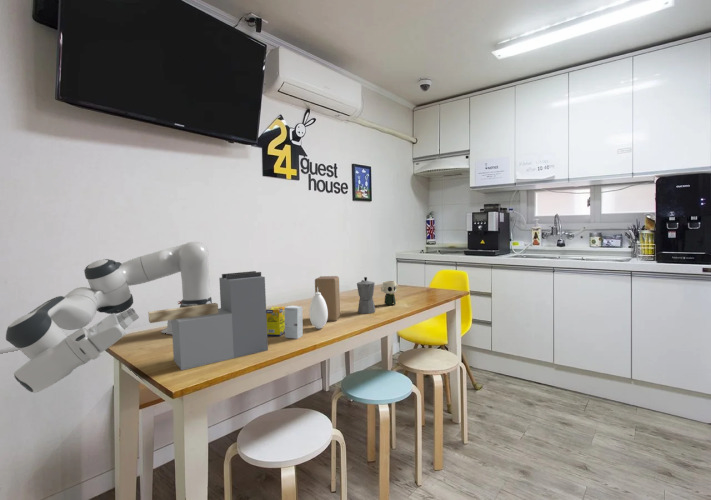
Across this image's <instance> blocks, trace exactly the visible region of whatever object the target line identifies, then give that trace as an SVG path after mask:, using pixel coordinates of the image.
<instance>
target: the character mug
mask: <svg viewBox="0 0 711 500" xmlns="http://www.w3.org/2000/svg"><path fill="white" fill-rule="evenodd" d="M398 289H399V285H398V283H397V282H396V281H395V280H385V281H384V280H383V282H382V285H381V286H380V291H381V292H383V293H384V294H385V295H384V304H385V305H387V306H391V305H396V297H395V294H396V293H397V291H398Z"/></svg>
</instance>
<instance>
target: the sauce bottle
mask: <svg viewBox="0 0 711 500" xmlns="http://www.w3.org/2000/svg"><path fill="white" fill-rule="evenodd" d="M310 302H311V303H310V304H309V305H310V306H309V311H308V312H309V320H310V323H311V325H312V326H313V327H314V328H316V329H317V330H320V329H322V328H324V326H325V325H326V324H327V322H328V321H327V318H328V310H327V305H326V302H325V300H324V298H323V297H322V295H321V293H319V292H318V287H317V293H315V292H314V295H313V297H312V299H311V301H310Z"/></svg>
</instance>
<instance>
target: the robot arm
mask: <svg viewBox="0 0 711 500" xmlns="http://www.w3.org/2000/svg"><path fill="white" fill-rule="evenodd" d="M83 271H84V276H85V279H86V280H87V282H88V285H89V287H87V286H86V287H85V286H81V287H77V288H74V289H73V290H71V291H69V292H68V293H67V294H66V295H65V296H63V295H58V296H55V297H53V298H51V299H49V300H47V301H45V302H43V303H42V304H40V305H39V306H37V307H36V308H35V309H33V310H32V311H30V312H28V313H27V314H24V315H22V316H21V317H19V318H17V319H16V320H14V321H13V322H12V323H10V325H8V327H7V329H6V332H5V340H6V341H7V343H9V344H11V345H12V346H14V348H17V349H18V350H19V351H21V352H22V353H23V354H24V355H25V356H26V358H28V359H29V360H28V361H27V362H26V363H25V364H23V365H22V366H20V367H19V368H18V369H16V371H14V373H13V375H14V379H15V380H16V381H17V382H18V383H19V384H20V385H21V386H22V387H24V388H25V390H27V391H28V392H30V393H35V394H36V393H40V392H41V391H44V390H45V389H47V388H49V387H51V386H53V385H55V384H56V383H58V382H59V381H61V380H63V379H64V378H66V377H67V376H69V375H70V374H71V373H73V371H74V370H75V369H77V368H78V367H80V366H83V365H85V364H87V363H89V362H90V361H91V360H94V361H95V360H96V359H97V358H99V357H100V356H102V353H103V352H104V351H106V350H107V349H109V348H110V347H112V346H113V345H114V344H115V343H117V342H119V340H120V339H122V338H123V337H124V336H125V335H126V333H127V332H126V329H127V328H129V326H131V325H132V324H133V323H134V322H135V321H137V320H138V319H140V317H139V315H138V313H137V312H136V310H135V309H134V308H133V307H132V306H133V305H134V296H133V294H132V293H131V290H130V287H129V286H136V285H141V284H146V283H148V282H149V283H150V282H152V281H156V280H158V279H162V278H165V277H169V276H172V275H175V274H179V273H180V276H181V290H182V291H181V292H182V300H178V302H177V305H179V308H181V307H188V306H196V305H203V304H211V303H213V301H212V300H213V299H212V297H211V280H210V269H209V249H208V248H207V246H206V245H205V244H204V243H203V242H200V241H190V242H186V243H184V244H180V245H176V246H172V247H170V248H166V249H162V250H158V251H155V252H152V253H147V254H144V255H141V256H137V257H135V258H132V259H129V260H127V261H125V262H123V263H122V262H119V261H115V260H113V259H109V258H106V259H105V258H104V259H98V260H95V261H92V262H90V264H88V265H86V267H85V268H84V270H83ZM97 312H98V313H105V314H107V315H108V316H105V317H104V318H103V319H101V320H100V321H98V322H97V323H95V324H94V325H93V326H91V327H89V328H88V329H87V328H85V327H86V326H88V325H89V324H90V323H91V322H92V320H93V319H94V318H95V316H96V313H97ZM166 326H167V327H165V328H163V329H162V330H161V333H162V334H165V333H166V334H167V335H172V320H168V321H167V325H166ZM62 329H63V330H62ZM64 330H67V331H74V332H73V333H71V334H69V335H68V334H66V332H64ZM75 330H76V331H75Z"/></svg>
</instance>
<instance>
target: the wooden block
mask: <svg viewBox="0 0 711 500" xmlns="http://www.w3.org/2000/svg"><path fill="white" fill-rule="evenodd" d="M317 287H318V292H319V293H321V295H322V297H323V298H324V300H325V302H326V305H327V310H328V318H327V322H336V321H337V320H338V319H339V318H340V316H341V298H340V296H341V295H340V277H339V276H337V275H331V276H330V275H328V276H325V275H324V276H322V275H321V276H319V277H317V278H315V279H314V294H315V293H317Z"/></svg>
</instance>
